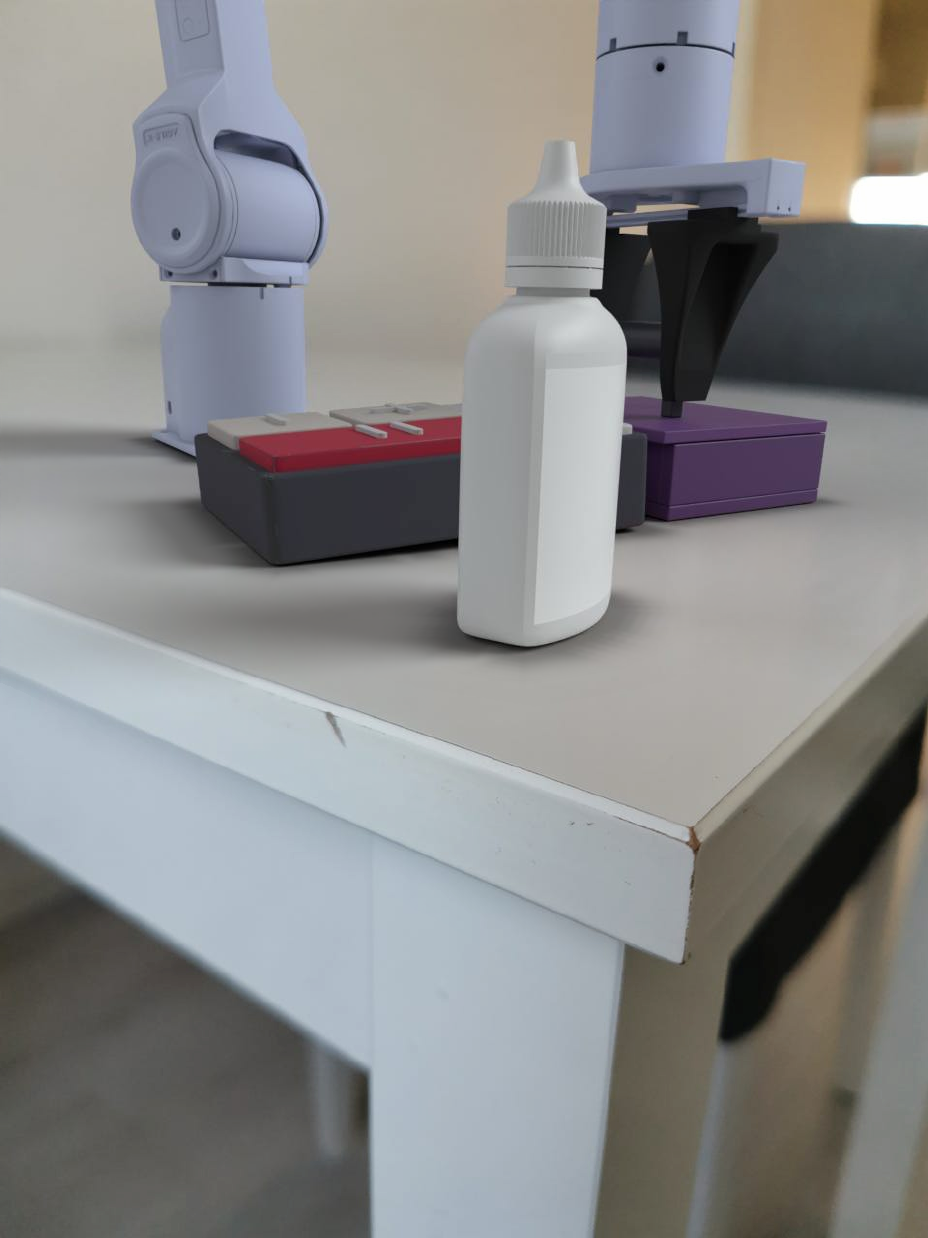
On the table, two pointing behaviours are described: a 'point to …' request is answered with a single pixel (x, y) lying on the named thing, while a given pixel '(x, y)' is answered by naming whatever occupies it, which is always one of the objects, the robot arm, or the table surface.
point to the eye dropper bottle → (542, 425)
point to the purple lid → (696, 406)
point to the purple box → (731, 475)
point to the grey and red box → (355, 479)
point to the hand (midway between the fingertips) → (638, 394)
